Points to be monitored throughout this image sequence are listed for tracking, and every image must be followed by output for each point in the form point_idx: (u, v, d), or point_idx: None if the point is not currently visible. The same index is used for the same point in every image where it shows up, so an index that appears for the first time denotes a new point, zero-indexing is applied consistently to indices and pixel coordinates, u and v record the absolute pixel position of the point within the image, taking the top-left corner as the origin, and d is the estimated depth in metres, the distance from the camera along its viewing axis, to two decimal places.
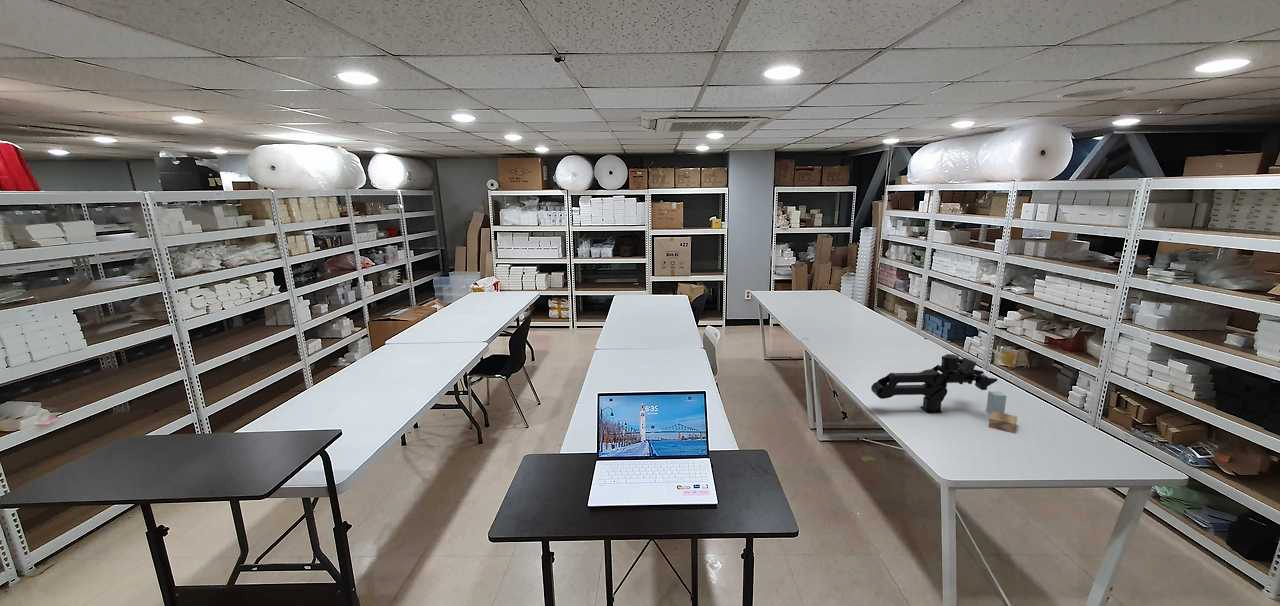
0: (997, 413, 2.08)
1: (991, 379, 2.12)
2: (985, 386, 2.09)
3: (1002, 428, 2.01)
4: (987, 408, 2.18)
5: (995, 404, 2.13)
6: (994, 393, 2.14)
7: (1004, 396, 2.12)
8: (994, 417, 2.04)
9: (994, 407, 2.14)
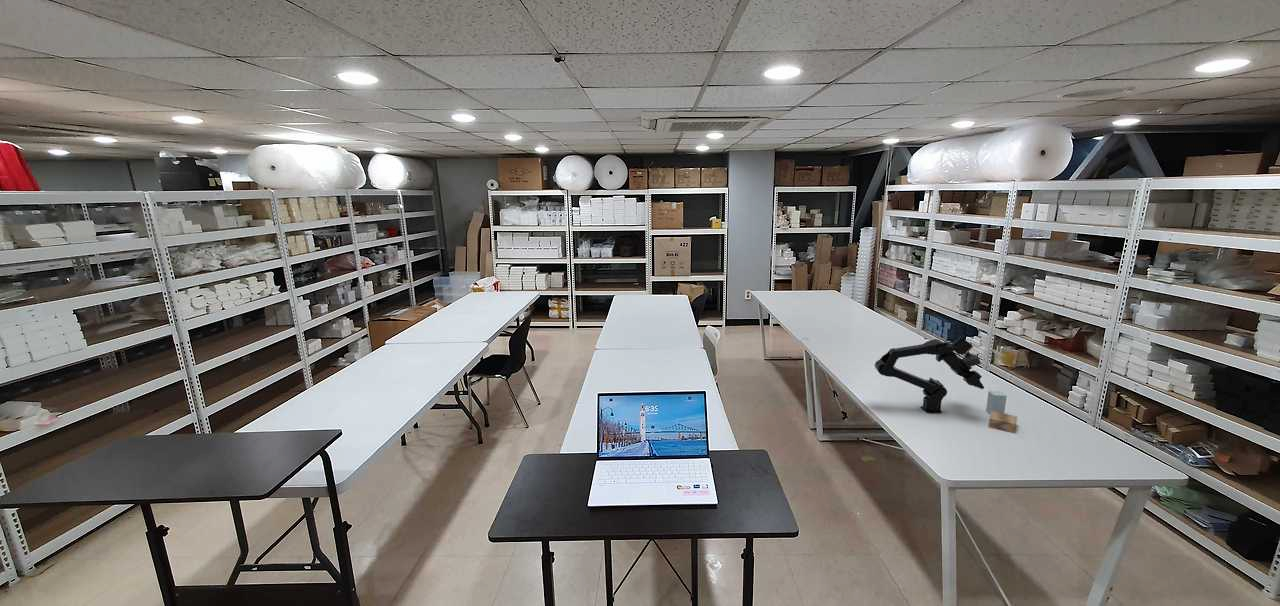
0: (997, 413, 2.08)
1: (980, 383, 2.10)
2: (972, 381, 2.07)
3: (1002, 428, 2.01)
4: (987, 408, 2.18)
5: (995, 404, 2.13)
6: (994, 393, 2.14)
7: (1004, 396, 2.12)
8: (994, 417, 2.04)
9: (994, 407, 2.14)
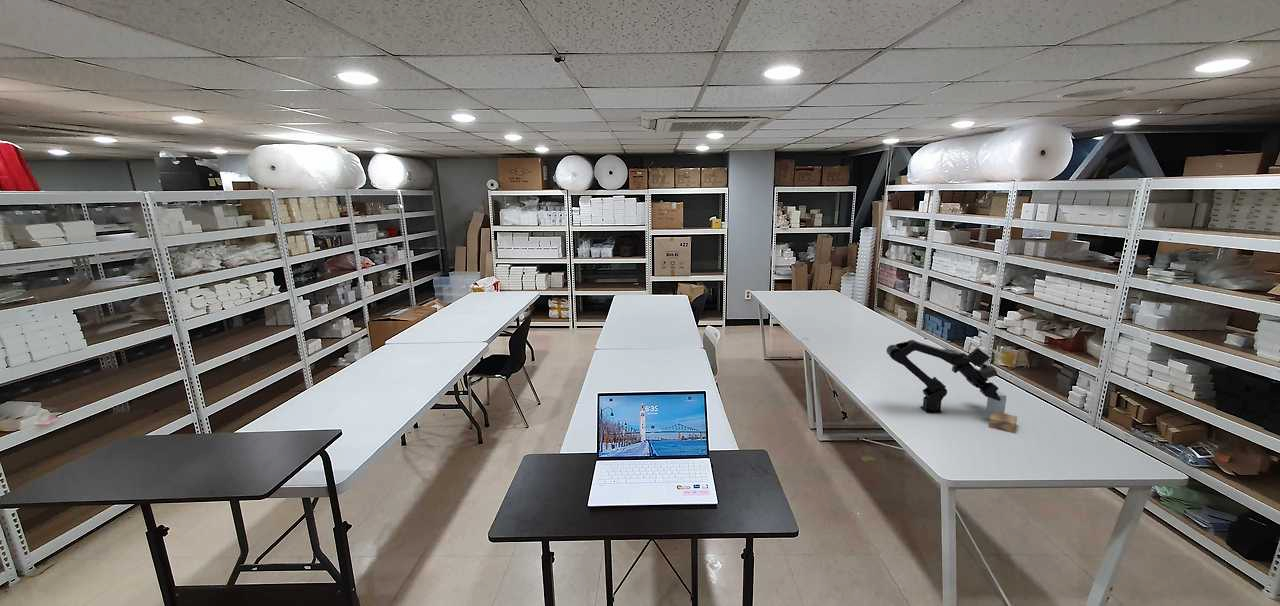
0: (997, 413, 2.08)
1: (996, 395, 2.09)
2: (989, 393, 2.06)
3: (1002, 428, 2.01)
4: (987, 408, 2.18)
5: (995, 404, 2.13)
6: None
7: (1004, 396, 2.12)
8: (994, 417, 2.04)
9: (994, 407, 2.14)
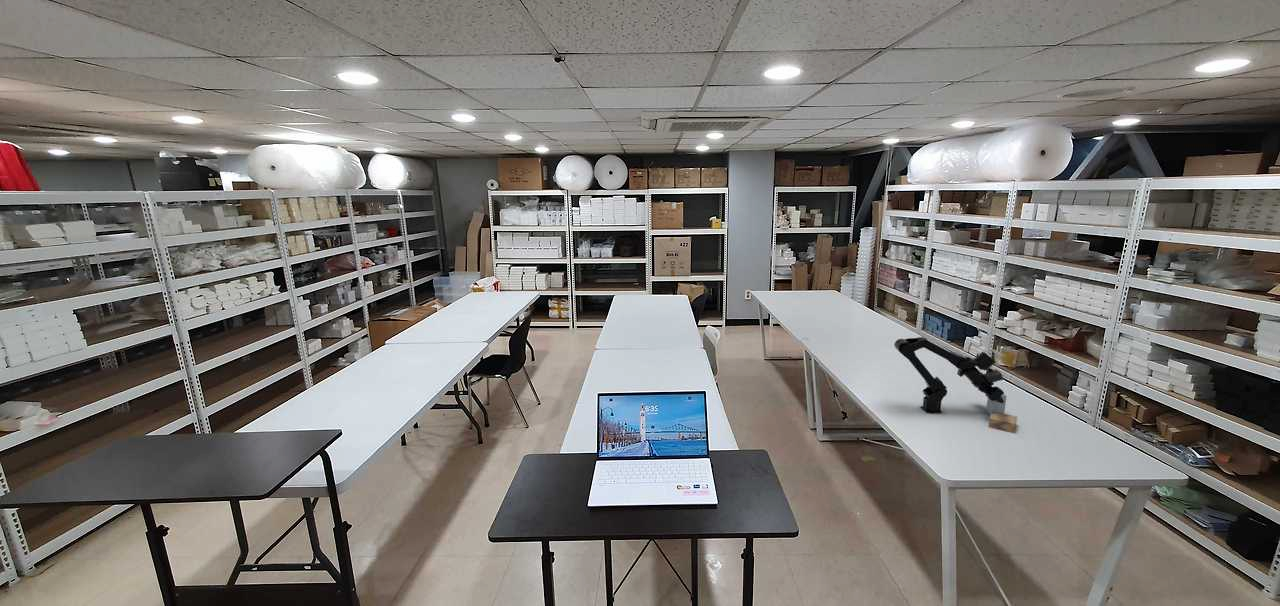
0: (997, 413, 2.08)
1: (1000, 397, 2.11)
2: (995, 397, 2.06)
3: (1002, 428, 2.01)
4: (987, 408, 2.18)
5: (995, 404, 2.13)
6: None
7: (1004, 396, 2.12)
8: (994, 417, 2.04)
9: (994, 407, 2.14)
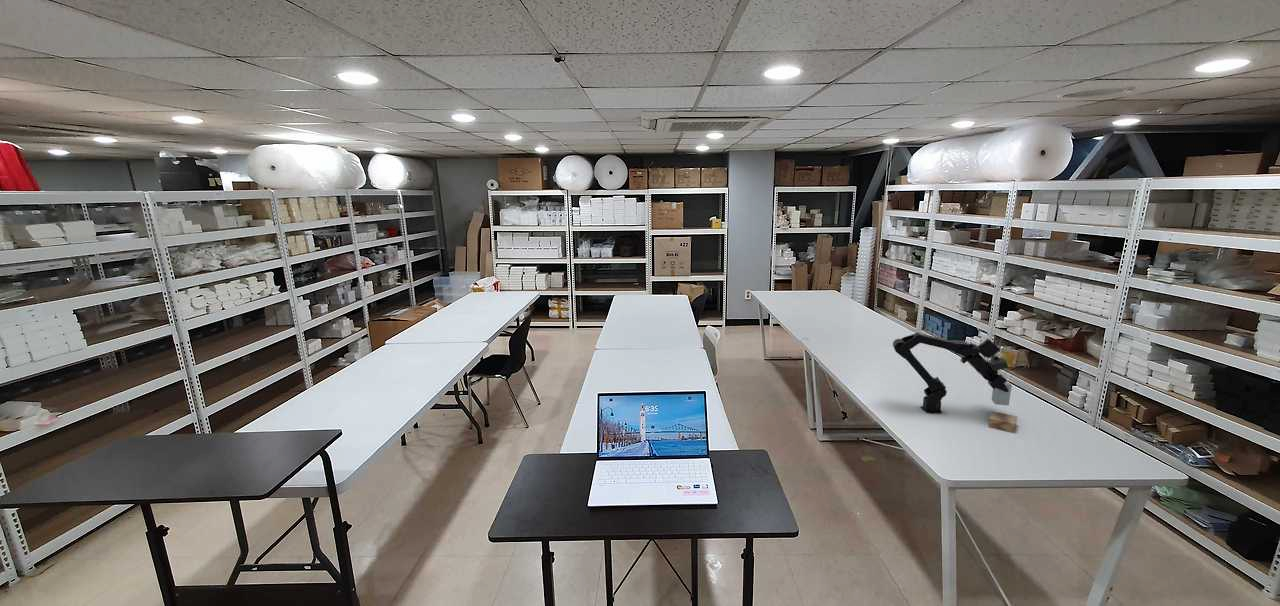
0: (997, 413, 2.08)
1: (1004, 386, 2.06)
2: (996, 385, 2.02)
3: (1002, 428, 2.01)
4: (992, 397, 2.14)
5: (999, 392, 2.09)
6: None
7: (1009, 385, 2.07)
8: (994, 417, 2.04)
9: (998, 396, 2.09)
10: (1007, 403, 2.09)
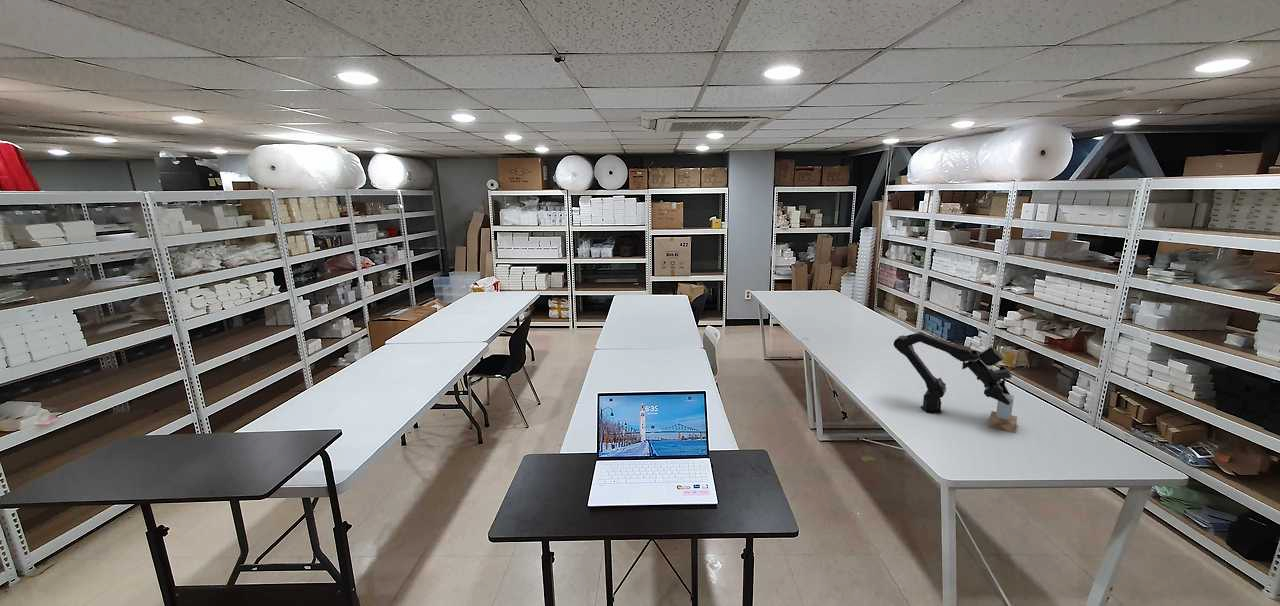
0: None
1: (1004, 397, 1.98)
2: (990, 393, 1.98)
3: (1002, 428, 2.01)
4: None
5: (1000, 406, 2.02)
6: None
7: (1010, 399, 1.99)
8: (994, 417, 2.04)
9: (998, 410, 2.03)
10: (1008, 418, 2.01)
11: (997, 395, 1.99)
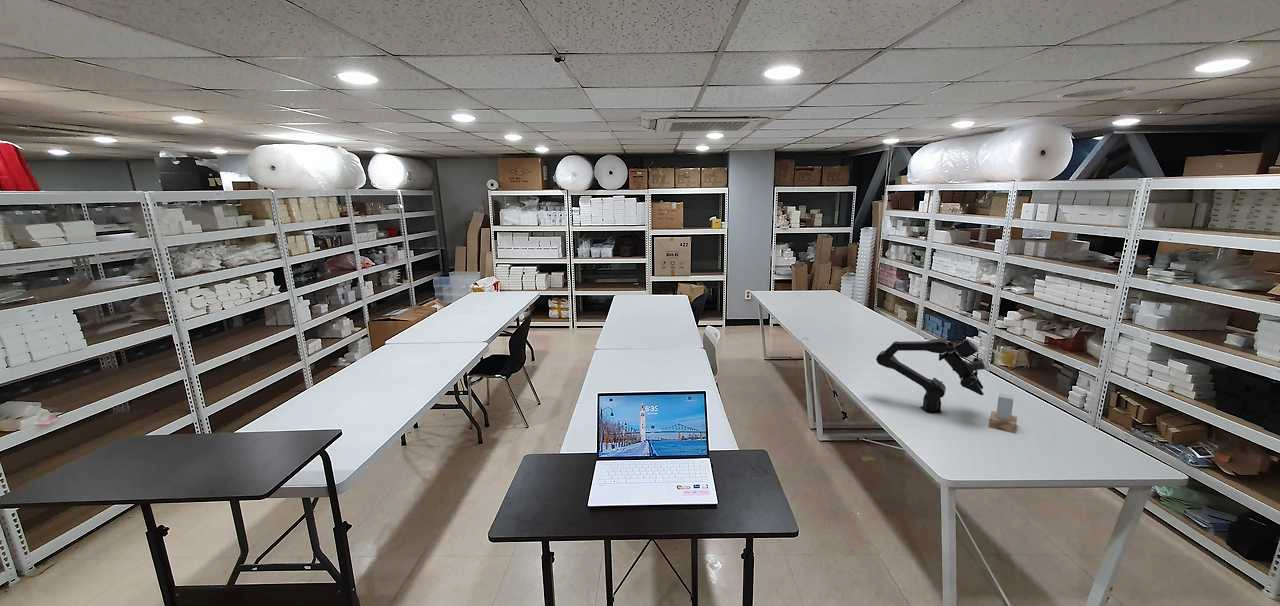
0: None
1: (978, 388, 2.04)
2: (966, 384, 2.03)
3: (1002, 428, 2.01)
4: None
5: (1000, 406, 2.02)
6: (1002, 395, 2.02)
7: (1010, 399, 1.99)
8: (994, 417, 2.04)
9: (998, 410, 2.03)
10: (1008, 418, 2.01)
11: (972, 386, 2.05)
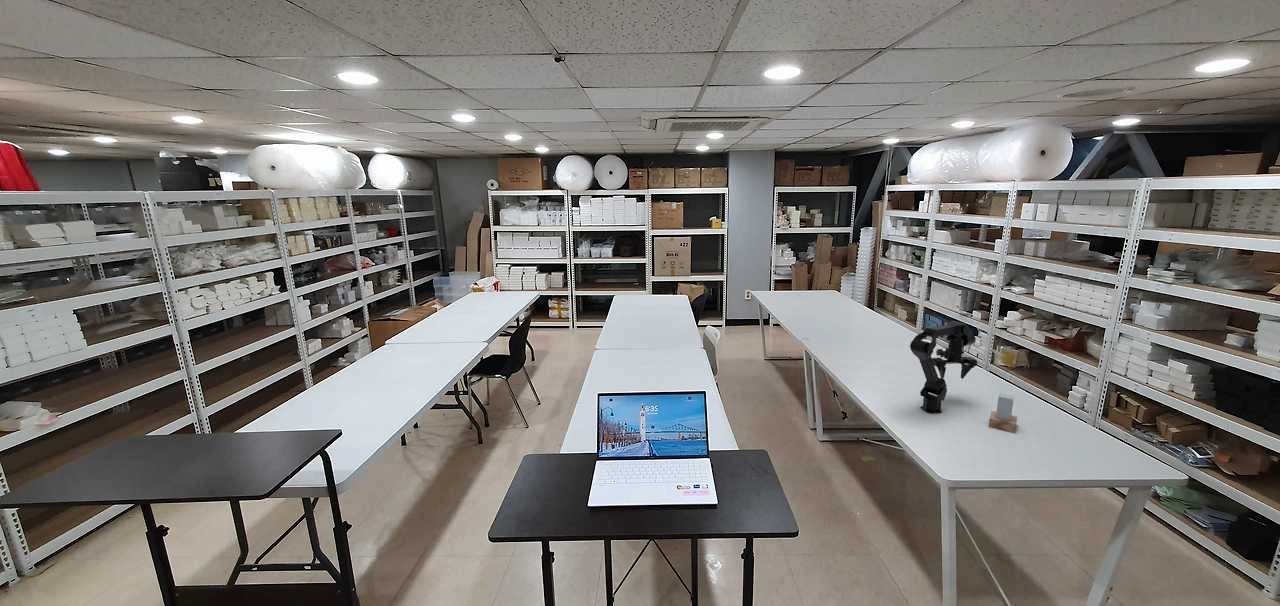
0: None
1: None
2: None
3: (1002, 428, 2.01)
4: None
5: (1000, 406, 2.02)
6: (1002, 395, 2.02)
7: (1010, 399, 1.99)
8: (994, 417, 2.04)
9: (998, 410, 2.03)
10: (1008, 418, 2.01)
11: None
